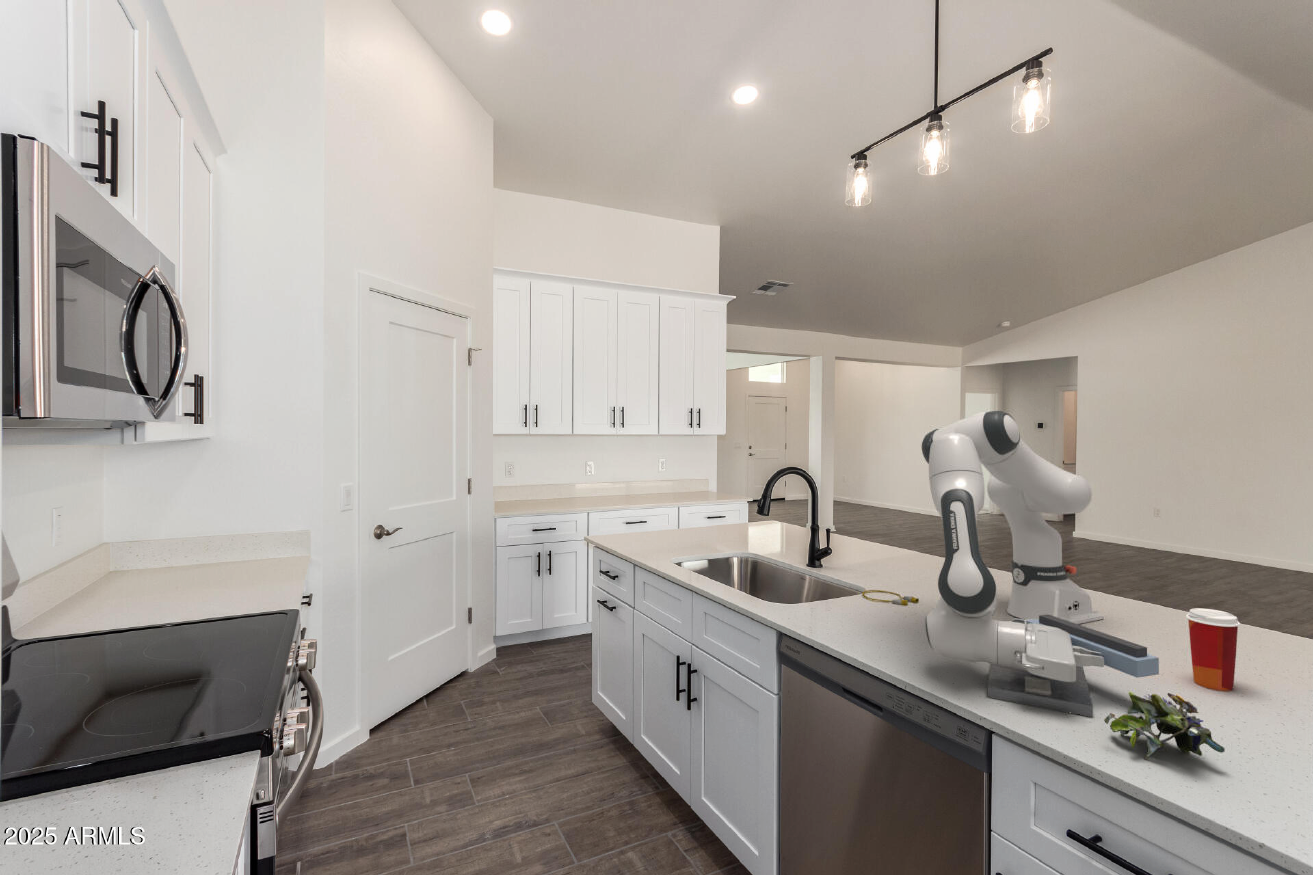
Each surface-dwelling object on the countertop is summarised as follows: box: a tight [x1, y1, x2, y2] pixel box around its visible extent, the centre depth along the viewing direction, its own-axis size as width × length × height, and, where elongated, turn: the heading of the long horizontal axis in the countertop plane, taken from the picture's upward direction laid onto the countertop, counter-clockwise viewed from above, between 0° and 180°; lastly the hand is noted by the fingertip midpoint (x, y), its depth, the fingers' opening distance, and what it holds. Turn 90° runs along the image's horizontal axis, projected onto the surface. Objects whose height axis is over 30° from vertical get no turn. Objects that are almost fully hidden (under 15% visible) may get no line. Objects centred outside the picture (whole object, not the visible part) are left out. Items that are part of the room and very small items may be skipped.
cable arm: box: [1024, 614, 1160, 679], centre depth 116 cm, size 25×5×8 cm, turn 14°
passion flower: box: [1103, 691, 1226, 761], centre depth 91 cm, size 11×11×12 cm
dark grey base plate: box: [987, 664, 1094, 718], centre depth 118 cm, size 26×16×3 cm, turn 148°
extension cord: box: [862, 589, 920, 606], centre depth 177 cm, size 12×16×2 cm
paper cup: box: [1185, 607, 1241, 692], centre depth 115 cm, size 8×8×14 cm
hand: (1103, 660), depth 108 cm, fingers closed
